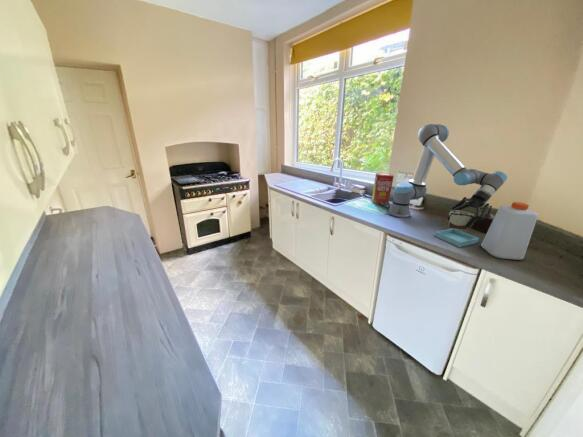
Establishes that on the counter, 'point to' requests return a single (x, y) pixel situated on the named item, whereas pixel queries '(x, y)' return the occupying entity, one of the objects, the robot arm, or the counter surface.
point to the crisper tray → (456, 237)
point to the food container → (459, 219)
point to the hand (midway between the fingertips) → (457, 222)
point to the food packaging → (382, 188)
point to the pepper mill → (484, 222)
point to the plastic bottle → (510, 231)
